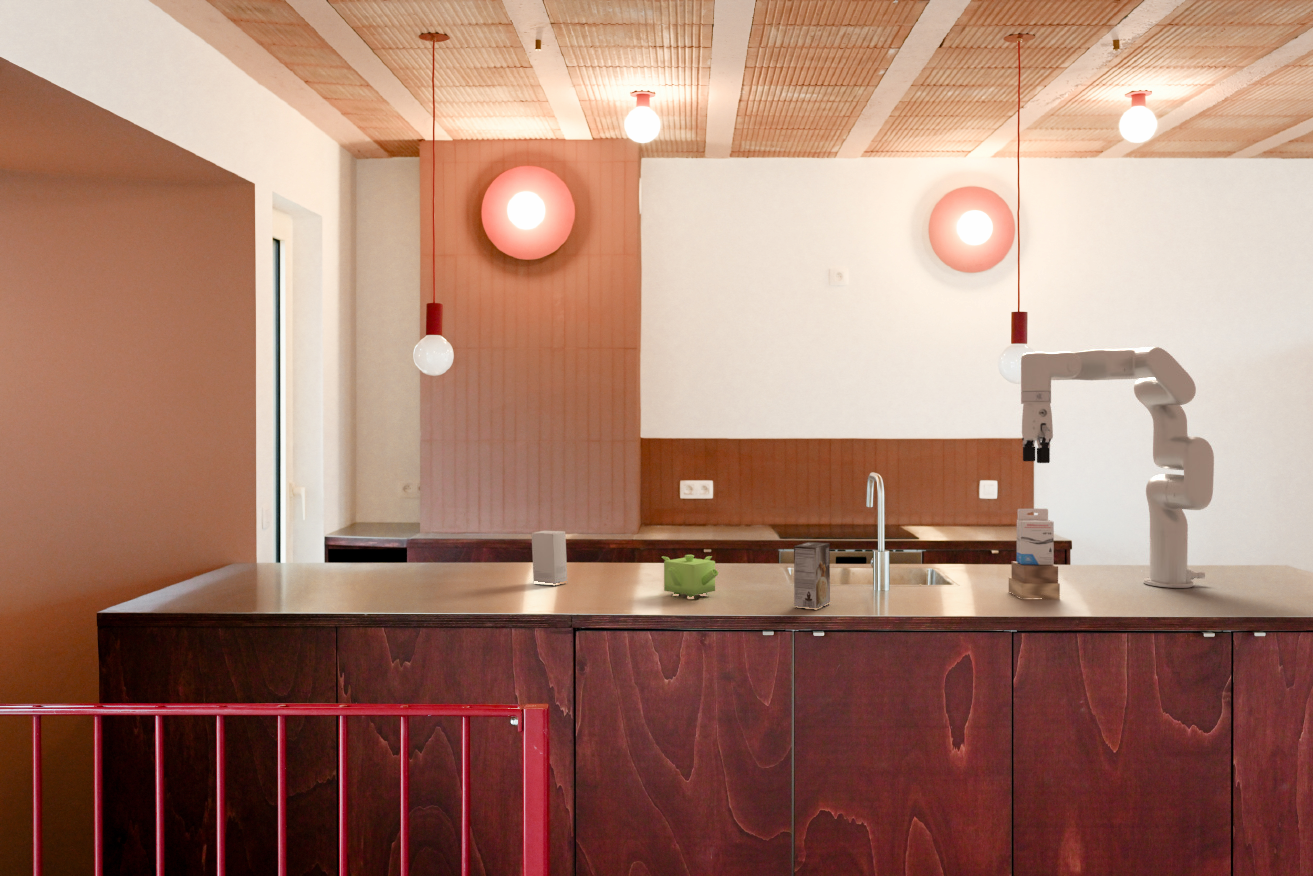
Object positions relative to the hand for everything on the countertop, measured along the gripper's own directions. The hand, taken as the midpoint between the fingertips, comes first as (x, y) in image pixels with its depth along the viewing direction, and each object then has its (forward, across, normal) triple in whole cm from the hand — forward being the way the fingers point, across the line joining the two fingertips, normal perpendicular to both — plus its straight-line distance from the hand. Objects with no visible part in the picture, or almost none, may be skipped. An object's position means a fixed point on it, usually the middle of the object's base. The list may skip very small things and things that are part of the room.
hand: (1036, 462), depth 253 cm
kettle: (+36, +3, +93) cm, 100 cm away
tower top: (+32, 0, 0) cm, 32 cm away
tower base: (+36, 0, 0) cm, 37 cm away
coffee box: (+36, -13, +62) cm, 73 cm away
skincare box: (+36, +21, +134) cm, 141 cm away
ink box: (+28, 0, 0) cm, 28 cm away
